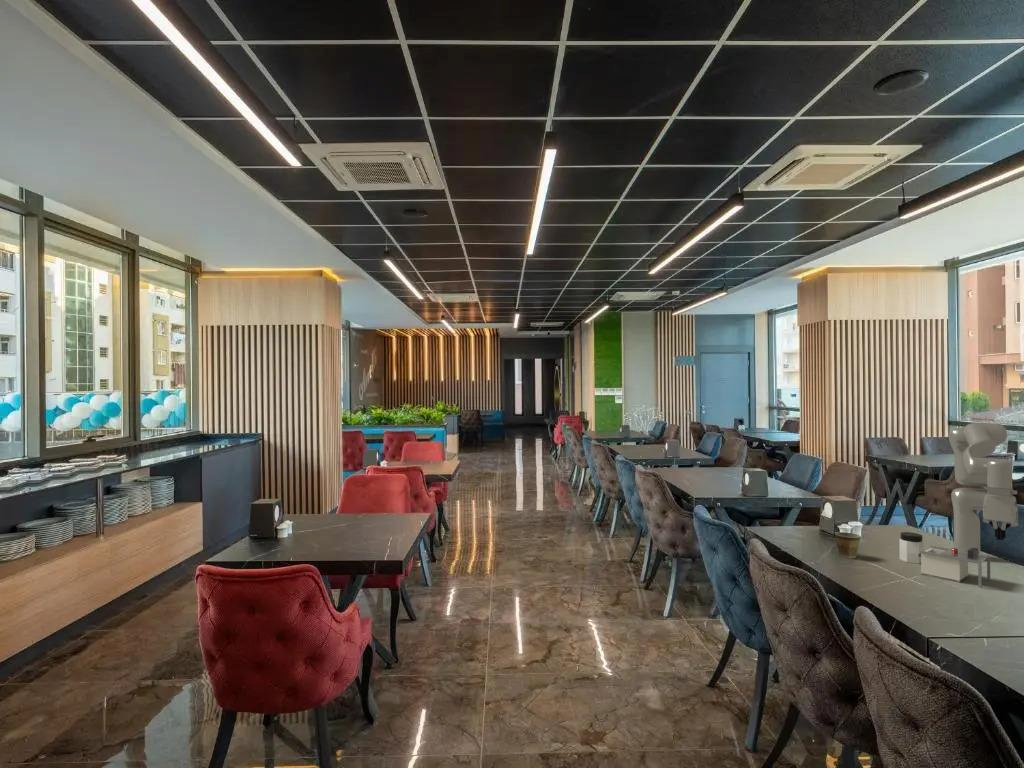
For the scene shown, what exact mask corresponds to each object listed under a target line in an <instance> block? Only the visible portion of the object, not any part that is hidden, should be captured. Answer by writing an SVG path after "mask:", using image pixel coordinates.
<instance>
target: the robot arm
mask: <svg viewBox="0 0 1024 768" xmlns="http://www.w3.org/2000/svg"><path fill="white" fill-rule="evenodd" d="M1007 438H1008V432H1007V429H1006V427H1005V426H1004V425H1003V424H1000V423H999V422H998V423H997V422H996V423H994V422H993V423H992V422H990V423H989V422H972V423H969V424H966V425H965V426H964V427H955V428H952V429H951V430H949V432H948V440H949V444H950V447H951V449H952V451H953V454H954V478H955V481H956V483H957V484H959V485H961V486H962V485H963V486H978V487H984V488H973V487H972V488H969V487H958V488H957V487H956V488H955V489H953V490H952V491H951V495H950V496H951V498H950V499H951V503H952V508H953V548H956V549H958V550H959V551H965V552H968V550H969V549H971V548H978V554H981V521H980V517H979V516H978V515H977V514H976V513H975V512H974V511H982V522H983V523H986V524H989V525H990V526H991V527H992V528H993V529H994V537H995V538H996V541H997V540H998V541H999V540H1000V541H1004V540H1005V539H1006V538H1007V537H1006V536H1007V535H1006V533H1007V529H1008V528H1010V527H1011V528H1012V527H1013V528H1014V527H1018V526H1019V523H1018V521H1019V513H1018V512H1019V509H1018V504H1017V499H1016V496H1014V495H1017V494H1018V490H1014V489H1013V465H1012V463H1011V462H1010V461H1008V459H1005V458H998V457H997V458H996V457H995V458H993V457H988V456H990V455H991V454H994V453H995V451H996V449H997V447H998V446H1001V445H1003V444H1004V443H1005V442H1006V440H1007ZM1000 523H1001V527H1000V525H999V524H1000Z"/></svg>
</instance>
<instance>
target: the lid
mask: <svg viewBox="0 0 1024 768" xmlns="http://www.w3.org/2000/svg"><path fill="white" fill-rule="evenodd" d="M943 551H944V552H942V553H940V554H942V555H948V556H953V557H959V558H964V559H970V560H975V561H981V564H982V563H983V562H984V561H987V559H988V556H989V555H988V556H986V555H987V554H982V555H980V554H981V553H980V554H978V548H971V549H969V550H968V552H963V551H958V549H956V548H954V547H952V548H948V550H946V551H945V550H943Z"/></svg>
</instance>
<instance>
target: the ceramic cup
mask: <svg viewBox="0 0 1024 768" xmlns="http://www.w3.org/2000/svg"><path fill="white" fill-rule="evenodd" d="M834 534H835V541H836V545H837V551H838V555H839V557H841V558H845V559H856V558H857V556H858V555H857V554H858V550H859V544H860V540H861V535H860V534H857V533H852V532H846V531H844V532H843V531H841V532H835V533H834Z"/></svg>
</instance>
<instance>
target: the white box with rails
mask: <svg viewBox="0 0 1024 768" xmlns="http://www.w3.org/2000/svg"><path fill="white" fill-rule="evenodd" d="M948 549H949V547H948V548H947V547H941V546H936V545H930V548H928V549H926V550H923V551H920V553H919V554H918V557H921V563H920V565H921V566H920V572H921V576H925V577H930V578H934V577H935V579H939V578H940V579H939V580H944V581H950V582H954V583H961V582H963V581H965V580H966V579H967V578H969V563H971V564H977V565H978V566H977V569H978V570H977V571H978V575H977V576H978V586H977V587H978V588H979V589H980V588H983V587H982V585H983V584H982V583H983V582H982V581H983V580H982V570H983V569H982V567H983V566H982V563H981V561H975V560H970V559H964V558H959V557H953V556H948V555H942V554H940V553H942V552H944V551H946V550H948ZM958 551H959V550H958ZM963 552H965V551H963ZM980 555H983V554H981V553H980ZM985 555H986V556H988V559H986V574H987V576H986V577H987V579H986V580H987V582H991V555H987V554H985Z"/></svg>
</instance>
